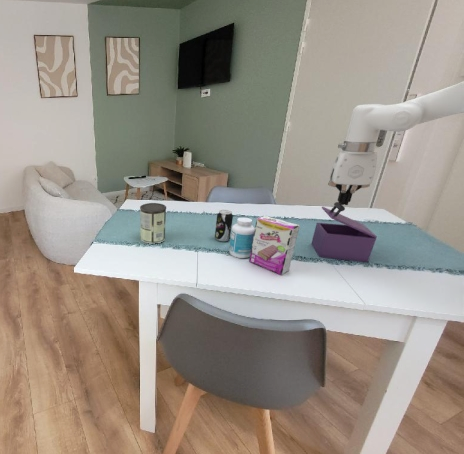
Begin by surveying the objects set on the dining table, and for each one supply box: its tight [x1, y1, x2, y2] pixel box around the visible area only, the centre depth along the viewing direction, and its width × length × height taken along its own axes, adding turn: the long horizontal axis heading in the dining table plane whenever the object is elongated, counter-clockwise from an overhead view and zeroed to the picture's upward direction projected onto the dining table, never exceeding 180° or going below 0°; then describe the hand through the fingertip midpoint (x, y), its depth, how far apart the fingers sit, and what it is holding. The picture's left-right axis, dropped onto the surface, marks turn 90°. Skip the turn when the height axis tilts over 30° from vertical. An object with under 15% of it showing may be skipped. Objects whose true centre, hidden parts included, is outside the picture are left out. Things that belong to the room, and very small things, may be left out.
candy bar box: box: [248, 214, 301, 276], centre depth 94 cm, size 11×5×16 cm, turn 34°
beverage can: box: [214, 209, 234, 243], centre depth 115 cm, size 6×6×12 cm
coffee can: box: [139, 202, 167, 245], centre depth 118 cm, size 10×10×14 cm
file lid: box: [321, 201, 378, 239], centre depth 97 cm, size 14×11×4 cm
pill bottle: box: [228, 216, 255, 259], centre depth 103 cm, size 8×7×14 cm
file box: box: [311, 222, 377, 263], centre depth 101 cm, size 14×11×9 cm
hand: (342, 203), depth 97 cm, fingers closed
